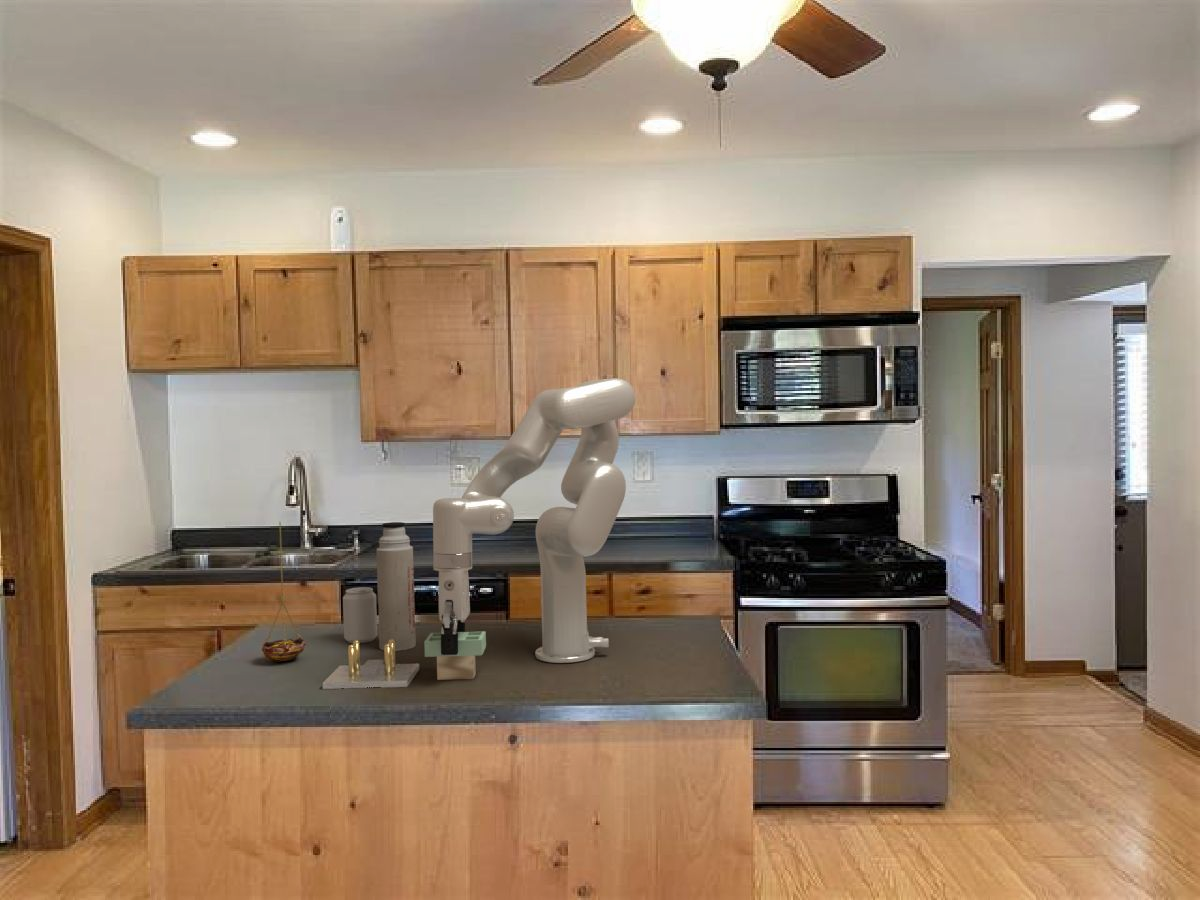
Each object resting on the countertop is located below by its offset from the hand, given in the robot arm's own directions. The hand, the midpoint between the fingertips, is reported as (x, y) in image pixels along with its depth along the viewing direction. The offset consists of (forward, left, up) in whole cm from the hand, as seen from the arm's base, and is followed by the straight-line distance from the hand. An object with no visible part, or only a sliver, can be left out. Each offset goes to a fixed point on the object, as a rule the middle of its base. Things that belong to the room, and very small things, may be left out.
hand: (453, 648), depth 175 cm
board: (0, 0, -1) cm, 1 cm away
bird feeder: (+39, -16, -6) cm, 42 cm away
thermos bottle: (+17, -26, -6) cm, 31 cm away
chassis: (+16, 0, -6) cm, 17 cm away
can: (+27, -33, -6) cm, 43 cm away
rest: (0, 0, -6) cm, 6 cm away
